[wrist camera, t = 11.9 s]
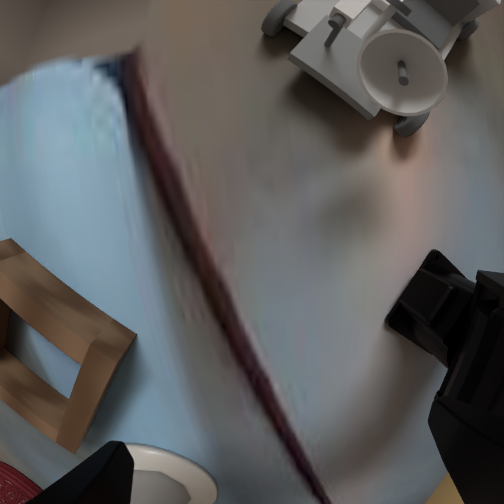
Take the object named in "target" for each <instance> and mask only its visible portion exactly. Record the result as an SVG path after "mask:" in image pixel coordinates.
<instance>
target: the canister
mask: <svg viewBox="0 0 504 504" xmlns="http://www.w3.org/2000/svg"><path fill="white" fill-rule="evenodd" d="M41 492H42V490H41V489H40V488H39V487H38V486H37V485H36V484H34V483H33V482H32V481H31V480H29V479H28V478H27V477H25V476H24V475H23V474H21V473H20V472H19V471H17V470H16V469H14V468H12V467H11V466H9V465H7V464H5V463H3V462H1V461H0V504H25V503H26V502H27V501H29V500H30V499H33V497H35V496H36V495H38V494H39V493H41Z"/></svg>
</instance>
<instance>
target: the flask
mask: <svg viewBox="0 0 504 504" xmlns="http://www.w3.org/2000/svg"><path fill="white" fill-rule="evenodd" d="M190 500H191V497H190V495H189V493H188V492H187V490H186V488H185V487H184V485H183V484H181V483H179V482H177V481H175V480H173V479H171V478H170V477H168V476H166V475H164V474H162V473H161V472H153V471H140V470H134V474H133V483H132V493H131V502H130V504H188V503H189V501H190Z"/></svg>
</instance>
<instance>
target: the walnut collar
mask: <svg viewBox="0 0 504 504" xmlns="http://www.w3.org/2000/svg"><path fill="white" fill-rule="evenodd" d="M11 309H12V310H13V311H15V312H16V313H17V314H18V315H19V316H20V317H21V318H22V319H23V320H25V321H26V322H27V323H28V324H29V325H30V326H31V327H33V328H34V329H35V330H36V331H37V332H39V333H40V334H41V335H42V336H43V337H45V338H46V339H47V340H48V341H50V342H51V343H52V344H54V345H55V346H56V347H57V348H59V349H60V350H61V351H63V352H64V353H65V354H67V355H68V356H69V357H71V358H72V359H73V360H75V361H76V362H78V363H79V364H80V365H82V366H81V368H80V371H79V373H78V376H77V379H76V381H75V384H74V387H73V390H72V392H71V395H70V398H69V399H67V398H66V397H65V396H63V395H62V394H60V393H59V392H58V391H56V390H55V389H54V388H52V387H51V386H50V385H48V384H47V383H46V382H44V381H43V380H42V379H41V378H39V377H38V376H37V375H36V374H34V373H33V372H32V371H31V370H29V369H28V368H27V367H26V366H25V365H24V364H22V363H21V362H20V361H19V360H18V359H17V358H16V357H14V356H13V355H12V354H11V353H10V352H9V351H8V350H7V349H6V348H5V341H6V335H7V329H8V323H9V318H10V313H11ZM136 335H137V334H136V333H134V332H133V331H131V330H130V329H128V328H127V327H125V326H123V325H122V324H120V323H119V322H117V321H116V320H114V319H113V318H112V317H110V316H109V315H107V314H106V313H104V312H103V311H101V310H100V309H99V308H97V307H96V306H94V305H93V304H92V303H90V302H89V301H87V300H86V299H85V298H83V297H82V296H81V295H79V294H78V293H77V292H75V291H74V290H73V289H71V288H70V287H69V286H67V285H66V284H65V283H63V282H62V281H61V280H60V279H58V278H57V277H56V276H55V275H53V274H52V273H51V272H50V271H48V270H47V269H46V268H45V267H43V266H42V265H41V264H40V263H39V262H38V261H36V260H35V259H34V258H33V257H32V256H30V255H29V254H28V253H27V252H26V251H25V250H24V249H22V248H21V247H20V246H19V245H18V244H17V243H16V242H15V241H14V240H12V239H11V238H10V239H6V240H3V241H0V398H1V399H2V400H3V401H4V402H5V403H6V404H7V405H8V406H10V407H11V408H12V409H13V410H14V411H15V412H17V413H18V414H19V415H20V416H22V417H23V418H24V419H25V420H27V421H28V422H29V423H30V424H32V425H33V426H34V427H36V428H37V429H38V430H40V431H41V432H42V433H44V434H45V435H46V436H48V437H49V438H51V439H52V440H54V441H55V442H57V443H58V444H59V445H61V446H62V447H64V448H65V449H67V450H69V451H70V452H72V453H73V454H75V453H76V451H77V450H78V448H79V446H80V444H81V442H82V441H83V439H84V437H85V435H86V434H87V432H88V430H89V428H90V426H91V424H92V422H93V420H94V418H95V416H96V414H97V412H98V409H99V407H100V405H101V403H102V401H103V399H104V397H105V395H106V393H107V391H108V389H109V387H110V385H111V383H112V381H113V379H114V377H115V375H116V373H117V371H118V369H119V367H120V365H121V363H122V361H123V359H124V357H125V355H126V353H127V352H128V350H129V348H130V346H131V344H132V342H133V340H134V338H135V336H136Z"/></svg>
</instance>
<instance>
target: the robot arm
mask: <svg viewBox="0 0 504 504" xmlns="http://www.w3.org/2000/svg"><path fill="white" fill-rule="evenodd" d="M435 254H436V258H435V259H434V255H435ZM476 280H477V282H476V283H474V282H472V281H470V280H468V279H467V278H466V277H465V276H464V275H463V274H462V273H461V272H460V271H459V270H458V269H457V268H456V267H455V266H454V265H453V264H452V263H451V262H450V261H449V260H448V259H447V258H446V257H445V256H444V255H443V254H442V253H441V252H440V251H438V250H435V249H433V250H431V251H430V252H429V254H428V256H427V257H426V259H425V260H424V262H423V264H422V265H421V267H420V268H419V270H418V271H417V272H416V274H415V275H414V277H413V278H412V280H411V281H410V283H409V284H408V286H407V287H406V289H405V290H404V292H403V293H402V295H401V296H400V299H399V300H398V301H397V303H396V304H395V306H394V307H393V309H392V310H391V311H390V313H389V314H388V315H387V317H386V323H387V324H388V325H389V326H390V327H391V328H392V329H394V330H395V331H397V332H398V333H400V334H401V335H403V336H404V337H406V338H407V339H409V340H410V341H412V342H413V343H415V344H416V345H418V346H419V347H421V348H422V349H424V350H425V351H427V352H428V353H430V354H432V355H434V356H435V357H436V358H437V359H438V360H439V361H440V362H441V363H442V364H443V365H444V366H445V367H446V368H447V369H448V371H447V373H446V376H445V378H444V380H443V383H442V385H441V387H440V389H439V390H438V391H437V393H436V395H435V397H434V401H433V403H432V406H431V410H430V414H429V417H428V425H429V427H430V430H431V432H432V435H433V437H434V440H435V442H436V445H437V448H438V450H439V453H440V455H441V458H442V460H443V463H444V465H445V467H446V469H447V471H448V472H449V474H450V476H451V478H452V480H453V482H454V484H455V486H456V488H457V490H458V492H459V494H460V496H461V498H462V500H463V502H464V504H504V273H498V272H490V271H482V270H478V271H477V275H476ZM393 318H395V319H394V321H393V322H391V320H392V319H393ZM133 474H134V459H133V457H132V455H131V454H130V452H129V450H128V448H127V446H126V445H125V443H124V442H122V441H109V442H108V443H106V444H105V445H104V446H102V447H101V448H100V449H99V450H97V451H96V452H95V453H93V454H92V455H91V456H90V457H88V458H87V459H86V460H84V461H83V462H82V463H80V464H79V465H78V466H76V467H75V468H74V469H72V470H71V471H70V472H68V473H67V474H66V475H64V476H63V477H62V478H60V479H59V480H57V481H56V482H55V483H53V484H52V485H50V486H49V487H48V488H46V489H45V490H43V491H42V492H41V493H39V494H38V495H36V496H35V497H33V499H30V500H29V501H27V502H26V503H25V504H130V502H131V493H132V483H133Z"/></svg>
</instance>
